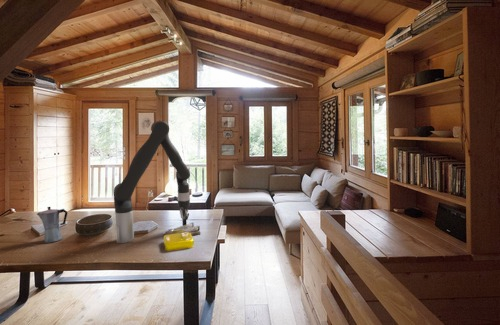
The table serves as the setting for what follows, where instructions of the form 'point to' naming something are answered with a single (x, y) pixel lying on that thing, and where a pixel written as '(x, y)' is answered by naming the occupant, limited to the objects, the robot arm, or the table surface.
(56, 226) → the moka pot
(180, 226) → the tong swing arm
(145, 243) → the table surface
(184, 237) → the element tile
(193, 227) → the tong fixed arm
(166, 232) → the tong board
